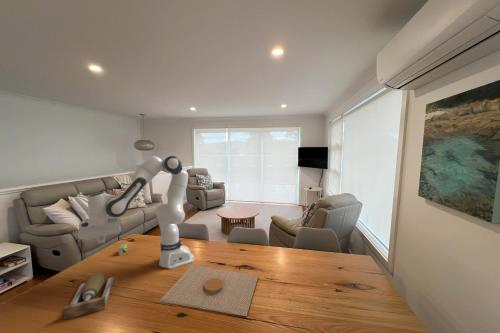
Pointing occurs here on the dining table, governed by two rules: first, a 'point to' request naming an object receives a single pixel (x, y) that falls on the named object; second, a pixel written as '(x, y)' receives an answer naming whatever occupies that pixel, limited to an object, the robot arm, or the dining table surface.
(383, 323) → the dining table surface
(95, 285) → the squeeze bottle
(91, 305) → the cradle
